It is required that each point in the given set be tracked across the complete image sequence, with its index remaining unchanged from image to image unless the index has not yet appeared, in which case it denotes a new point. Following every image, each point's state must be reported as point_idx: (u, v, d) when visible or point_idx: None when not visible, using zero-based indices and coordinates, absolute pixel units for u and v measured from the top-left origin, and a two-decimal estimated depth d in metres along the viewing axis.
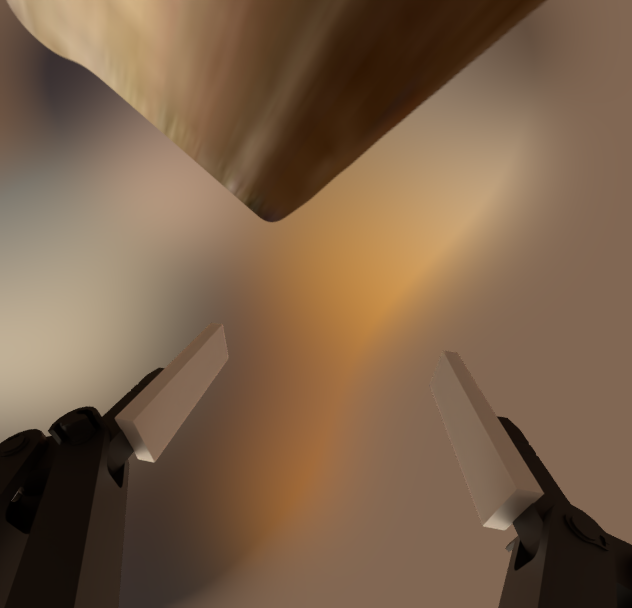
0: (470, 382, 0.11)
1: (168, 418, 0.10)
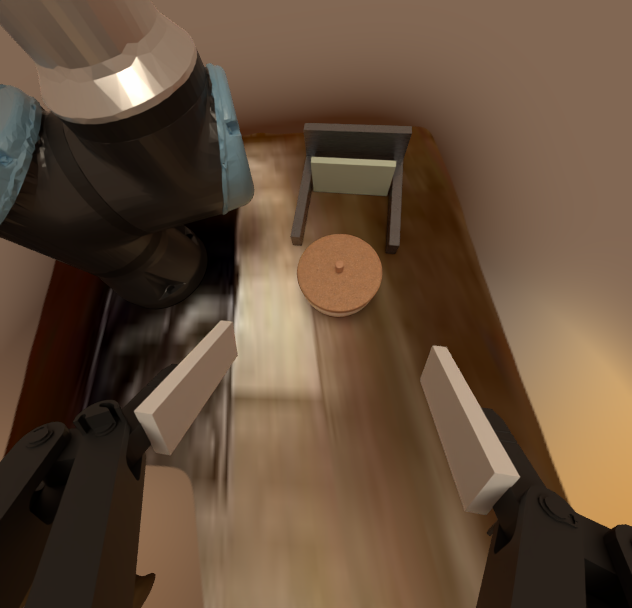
0: (457, 375, 0.11)
1: (183, 412, 0.10)
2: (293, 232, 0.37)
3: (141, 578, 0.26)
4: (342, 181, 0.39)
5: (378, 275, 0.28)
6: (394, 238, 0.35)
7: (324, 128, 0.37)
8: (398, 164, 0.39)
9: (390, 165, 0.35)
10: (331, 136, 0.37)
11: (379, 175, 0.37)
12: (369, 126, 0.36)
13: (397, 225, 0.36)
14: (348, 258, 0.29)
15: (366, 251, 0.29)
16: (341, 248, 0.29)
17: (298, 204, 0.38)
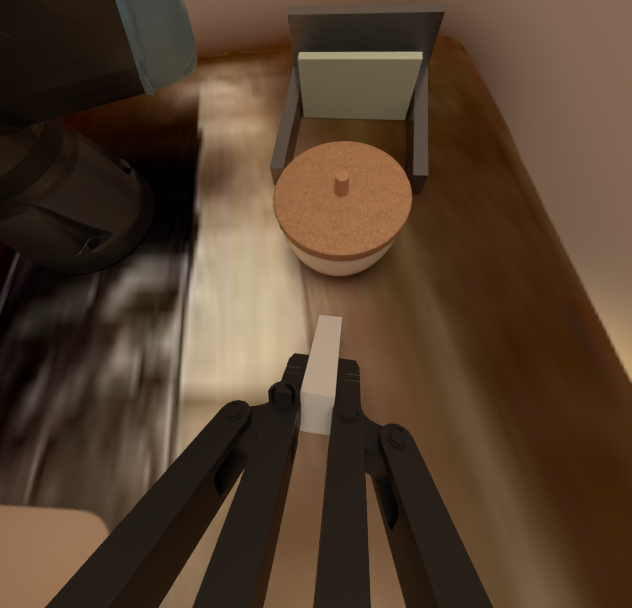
0: (335, 336, 0.13)
1: None
2: (274, 162, 0.26)
3: None
4: (343, 95, 0.28)
5: (406, 198, 0.17)
6: (420, 166, 0.24)
7: (316, 11, 0.26)
8: (420, 72, 0.28)
9: (414, 58, 0.24)
10: (326, 26, 0.26)
11: (396, 79, 0.26)
12: (382, 6, 0.25)
13: (424, 149, 0.25)
14: (356, 174, 0.18)
15: (385, 163, 0.18)
16: (344, 160, 0.18)
17: (281, 126, 0.27)
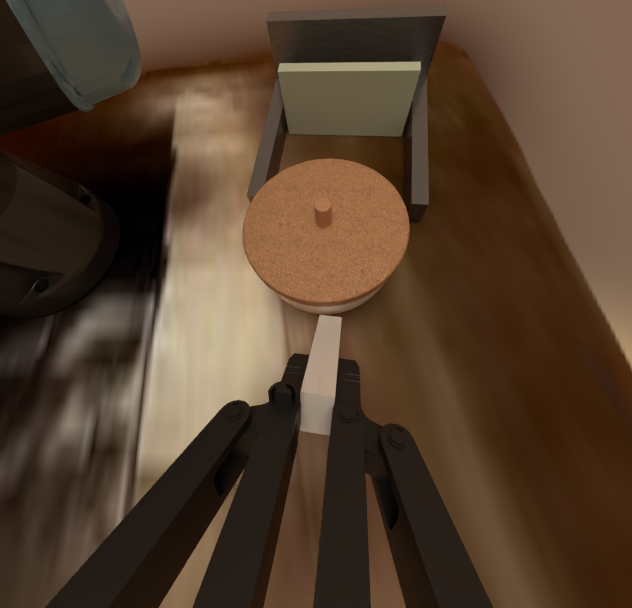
0: (335, 336, 0.13)
1: None
2: (251, 189, 0.22)
3: None
4: (331, 110, 0.24)
5: (402, 225, 0.14)
6: (420, 193, 0.21)
7: (299, 16, 0.22)
8: (419, 83, 0.25)
9: (411, 69, 0.21)
10: (311, 34, 0.23)
11: (391, 93, 0.22)
12: (373, 10, 0.22)
13: (423, 172, 0.21)
14: (340, 198, 0.15)
15: (374, 183, 0.15)
16: (326, 181, 0.15)
17: (261, 146, 0.24)
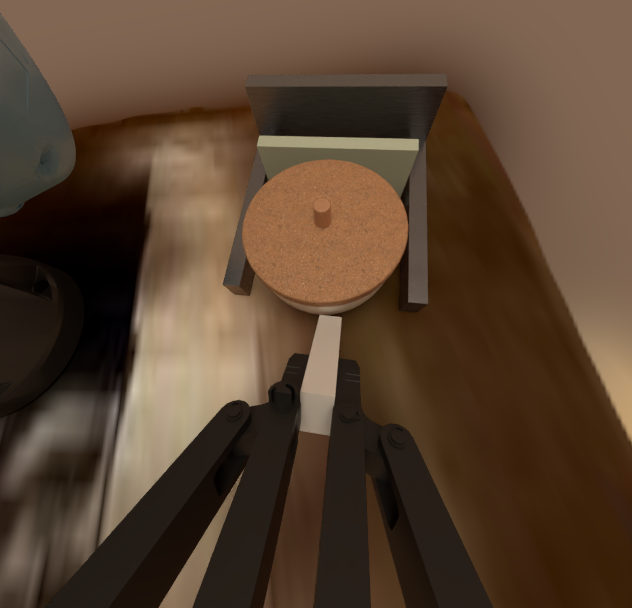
0: (335, 336, 0.13)
1: None
2: (228, 276, 0.20)
3: None
4: None
5: (401, 224, 0.14)
6: (418, 288, 0.18)
7: (282, 82, 0.20)
8: None
9: (408, 148, 0.18)
10: (296, 99, 0.21)
11: (386, 168, 0.20)
12: (365, 76, 0.19)
13: (422, 262, 0.19)
14: (338, 199, 0.15)
15: (371, 183, 0.15)
16: (323, 182, 0.15)
17: (241, 223, 0.21)
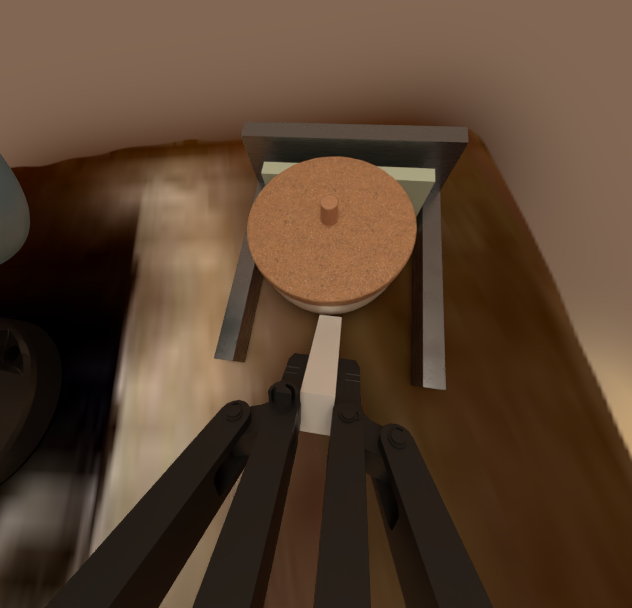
0: (335, 336, 0.13)
1: None
2: (220, 348, 0.18)
3: None
4: None
5: (409, 226, 0.14)
6: (434, 370, 0.16)
7: (282, 131, 0.18)
8: (431, 200, 0.20)
9: (423, 179, 0.17)
10: (298, 149, 0.18)
11: None
12: (375, 127, 0.17)
13: (438, 337, 0.17)
14: (347, 197, 0.14)
15: (382, 182, 0.15)
16: (332, 179, 0.15)
17: (235, 283, 0.19)
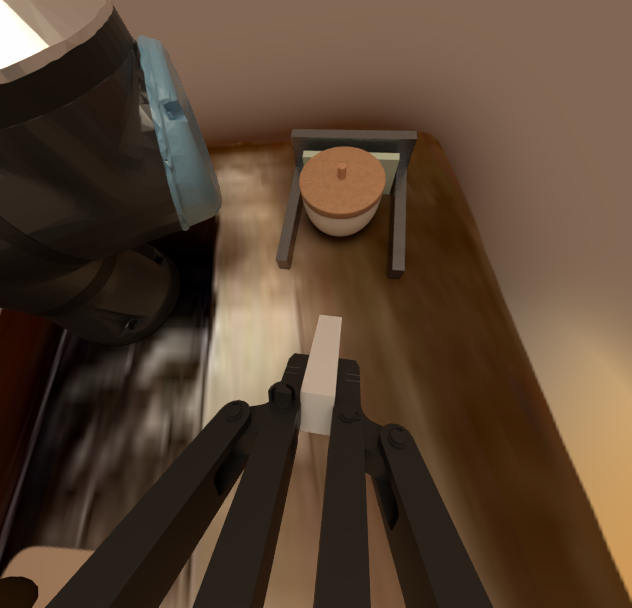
0: (335, 336, 0.13)
1: None
2: (279, 254, 0.31)
3: None
4: None
5: (382, 179, 0.27)
6: (398, 261, 0.30)
7: (314, 134, 0.32)
8: (400, 174, 0.34)
9: (393, 158, 0.31)
10: (322, 144, 0.32)
11: None
12: (366, 132, 0.31)
13: (401, 246, 0.30)
14: (350, 166, 0.28)
15: (368, 159, 0.29)
16: (343, 157, 0.29)
17: (285, 221, 0.33)
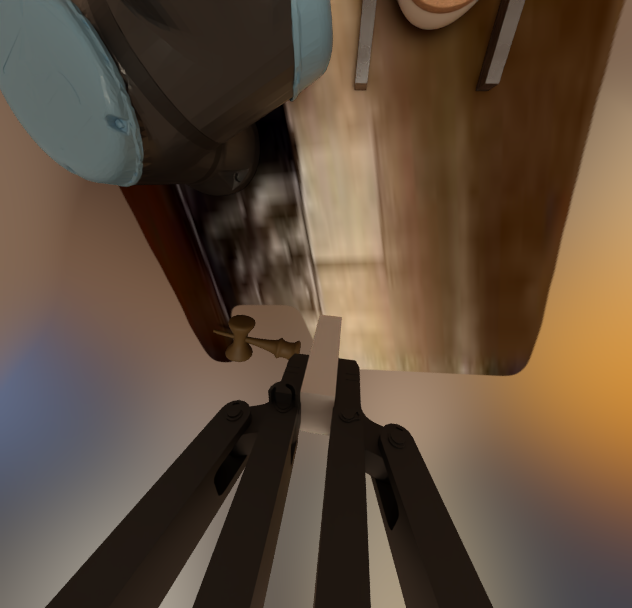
0: (335, 336, 0.13)
1: None
2: (358, 74, 0.29)
3: (295, 343, 0.51)
4: None
5: None
6: (496, 69, 0.27)
7: None
8: None
9: None
10: None
11: None
12: None
13: (508, 40, 0.26)
14: None
15: None
16: None
17: (364, 10, 0.26)
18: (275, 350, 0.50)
